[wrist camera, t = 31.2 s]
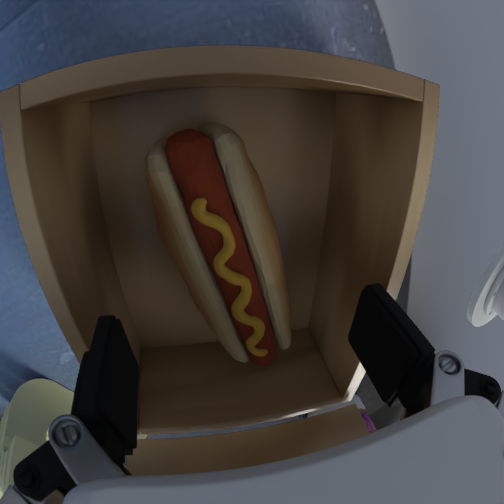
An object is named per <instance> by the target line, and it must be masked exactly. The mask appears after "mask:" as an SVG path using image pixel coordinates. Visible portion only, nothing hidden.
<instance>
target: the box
mask: <svg viewBox="0 0 504 504" xmlns="http://www.w3.org/2000/svg"><path fill="white" fill-rule="evenodd" d="M439 93H440V86H439V85H438V84H435V83H433V82H430V81H427V80H425V79H422V78H419V77H416V76H413V75H410V74H407V73H404V72H401V71H397V70H394V69H391V68H387V67H384V66H380V65H376V64H372V63H368V62H364V61H360V60H356V59H351V58H347V57H342V56H337V55H331V54H325V53H319V52H313V51H306V50H298V49H289V48H279V47H267V46H249V45H201V46H183V47H171V48H161V49H152V50H145V51H138V52H131V53H126V54H120V55H115V56H110V57H105V58H100V59H96V60H92V61H87V62H83V63H80V64H76V65H72V66H69V67H65V68H62V69H59V70H56V71H52V72H49V73H46V74H43V75H41V76H38V77H35V78H32V79H30V80H27V81H24V82H22V83H21V84H17V85H15V86H12V87H10V88H7V89H5V90H3V91H1V92H0V124H1V134H2V143H3V150H4V157H5V163H6V169H7V175H8V180H9V185H10V189H11V194H12V198H13V202H14V207H15V210H16V214H17V218H18V221H19V225H20V228H21V232H22V235H23V238H24V241H25V244H26V247H27V250H28V253H29V256H30V259H31V262H32V265H33V267H34V270H35V272H36V275H37V278H38V280H39V283H40V285H41V287H42V290H43V292H44V294H45V297H46V299H47V301H48V303H49V306H50V308H51V310H52V312H53V314H54V316H55V318H56V320H57V322H58V324H59V326H60V328H61V330H62V332H63V334H64V336H65V338H66V340H67V342H68V344H69V345H70V347H71V349H72V351H73V353H74V354H75V356H76V358H77V359H78V361H79V363H80V365H81V361H82V357H83V354H84V353H85V351H90V347H91V343H92V339H93V335H94V331H95V328H96V324H97V321H98V318H99V316H105V315H114V316H115V317H116V319H120V320H121V322H122V325H123V328H124V331H125V333H126V336H127V338H128V341H129V344H130V346H131V349H132V351H133V353H134V356H135V358H136V361H137V363H138V366H139V388H138V413H137V435H141V434H174V433H189V432H201V431H210V430H219V429H227V428H234V427H241V426H247V425H253V424H259V423H264V422H269V421H274V420H279V419H284V418H288V417H293V416H297V415H301V414H305V413H309V412H313V411H317V410H320V409H324V408H327V407H331V406H334V405H338V404H342V403H345V402H348V401H351V400H352V398H353V396H354V394H355V392H356V390H357V388H358V386H359V384H360V382H361V380H362V378H363V376H364V374H365V372H366V371H365V369H364V368H363V366H362V364H361V362H360V361H359V359H358V357H357V356H356V354H355V352H354V350H353V349H352V347H351V345H350V344H349V341H348V334H349V331H350V328H351V324H352V321H353V318H354V315H355V311H356V308H357V305H358V301H359V298H360V294H361V291H362V290H363V289H364V287H365V286H366V285H370V284H376V283H380V284H381V285H382V286H383V287H384V288H385V290H386V291H387V292H388V293H389V294H390V295H391V297H392V298H393V299H394V300H395V301H396V298H397V296H398V293H399V290H400V287H401V284H402V281H403V278H404V275H405V272H406V269H407V266H408V262H409V259H410V256H411V252H412V249H413V245H414V242H415V238H416V234H417V231H418V226H419V223H420V218H421V214H422V210H423V206H424V202H425V197H426V192H427V186H428V182H429V177H430V171H431V165H432V159H433V152H434V145H435V137H436V128H437V119H438V108H439ZM207 123H220V124H222V125H225V126H227V127H229V128H230V129H232V130H233V131H235V132H236V133H237V134H238V135H239V136H240V137H241V138H242V140H243V141H244V144H245V147H246V151H247V154H248V158H249V160H250V161H251V163H252V164H253V166H254V168H255V169H256V171H257V173H258V175H259V178H260V180H261V183H262V186H263V188H264V192H265V196H266V200H267V204H268V206H269V209H270V211H271V214H272V216H273V219H274V222H275V225H276V229H277V233H278V237H279V242H280V246H281V252H282V257H283V263H284V268H285V273H286V279H287V284H288V291H289V298H290V306H291V321H290V330H291V344H290V346H289V347H288V348H287V349H281V348H280V347H278V346H277V357H276V358H275V360H274V361H273V362H272V363H270V364H269V365H266V366H262V365H259V364H256V363H254V362H253V361H252V360H251V358H250V359H249V360H248V362H245V363H244V362H240V361H237V360H235V359H234V358H233V357H232V356H231V354H230V353H229V352H228V351H226V349H225V348H224V347H223V345H222V344H221V343H220V341H219V340H218V338H217V337H216V336H215V334H214V333H213V331H212V330H211V328H210V327H209V326H208V324H207V322H206V320H205V318H204V317H203V315H202V314H201V313H200V311H199V310H198V309H197V307H196V305H195V303H194V301H193V299H192V297H191V295H190V293H189V291H188V288H187V286H186V283H185V281H184V279H183V277H182V276H181V274H180V272H179V270H178V268H177V267H176V265H175V263H174V261H173V259H172V257H171V255H170V253H169V252H168V250H167V248H166V246H165V244H164V242H163V240H162V237H161V235H160V233H159V231H158V229H157V225H156V219H155V214H154V208H153V204H152V199H151V195H150V191H149V188H148V184H147V180H146V172H145V157H146V155H147V153H148V152H149V150H150V149H151V147H152V146H153V145H154V144H155V142H156V141H157V140H159V139H161V138H162V137H170V136H171V135H173V134H174V133H176V132H178V131H181V130H185V129H195V130H197V131H198V129H199V126H202V125H205V124H207Z"/></svg>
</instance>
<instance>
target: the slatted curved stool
mask: <svg viewBox="0 0 504 504" xmlns="http://www.w3.org/2000/svg"><path fill="white" fill-rule="evenodd" d="M73 397H74V392H72V391H70V390H68V389H67V388H65V387H63V386H61V385H59V384H58V383H56V382H54V381H52V380H48V379H43V378H42V379H33V380H29V381H27V382H25V383H24V384H22V385H21V386H20V387H19V388H18V389H17V390H16V392H15V394H14V395H13V397H12V399H11V401H10V403H9V405H8V407H7V408H6V410H5V412H4V414H3V416H2V418H1V421H0V499H1V498H2V496H3V494H4V493H5V491H6V489H7V488H8V486H9V485H12V486H13V485H14V479H13V472H14V469H15V466H16V465H17V464H18V463H19V462H20V461H22V460H23V459H24V458H26V457H27V456H28V455H30V454H31V453H32V452H34V451H35V450H36V449H37V448H39V447H40V446H41V445H43V444H44V443H45V442H47V440H49V438H48V430H49V426H50V424H51V423H52V421H53V420H54V419H55V418H57V417H59V416H61V415H66V414H69V415H70V414H71V408H72V403H73ZM146 437H147V434H141V435H137V439H146Z"/></svg>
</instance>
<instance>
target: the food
mask: <svg viewBox="0 0 504 504" xmlns="http://www.w3.org/2000/svg"><path fill="white" fill-rule="evenodd" d="M145 172H146V180H147V184H148V188H149V191H150V195H151V199H152V204H153V208H154V214H155V219H156V225H157V229H158V231H159V233H160V235H161V237H162V240H163V242H164V244H165V246H166V248H167V250H168V252H169V253H170V255H171V257H172V259H173V261H174V263H175V265H176V267H177V268H178V270H179V272H180V274H181V276H182V277H183V279H184V281H185V283H186V286H187V288H188V291H189V293H190V295H191V297H192V299H193V301H194V303H195V305H196V307H197V309H198V310H199V311H200V313H201V314H202V315H203V317H204V318H205V320H206V322H207V324H208V326H209V327H210V328H211V330H212V331H213V333H214V334H215V336H216V337H217V338H218V340H219V341H220V343H221V344H222V345H223V347H224V348H225V349H226V351H228V352H229V353H230V354H231V356H232V357H233V358H234V359H235V360H237V361H240V362H244V363H245V362H248V360H249V359H250V358H251V360H252V361H253V362H254V363H256V364H259V365H262V366H266V365H269V364H270V363H272V362H273V361H274V360H275V358H276V357H277V346H278V347H280V348H281V349H287V348H288V347H289V346H290V344H291V330H290V321H291V306H290V298H289V291H288V284H287V279H286V273H285V268H284V263H283V257H282V252H281V246H280V242H279V237H278V233H277V229H276V225H275V222H274V219H273V216H272V214H271V211H270V209H269V206H268V204H267V200H266V196H265V192H264V188H263V186H262V183H261V180H260V178H259V175H258V173H257V171H256V169H255V168H254V166H253V164H252V163H251V161H250V160H249V158H248V154H247V151H246V147H245V144H244V141H243V140H242V138H241V137H240V136H239V135H238V134H237V133H236V132H235V131H233V130H232V129H230V128H229V127H227V126H225V125H222V124H220V123H207V124H205V125H202V126H199V129H198V131H197V130H195V129H185V130H181V131H178V132H176V133H174V134H173V135H171V136H170V137H162V138H161V139H159V140H157V141H156V142H155V144H154V145H153V146H152V147H151V149H150V150H149V152H148V153H147V155H146V157H145Z"/></svg>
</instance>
